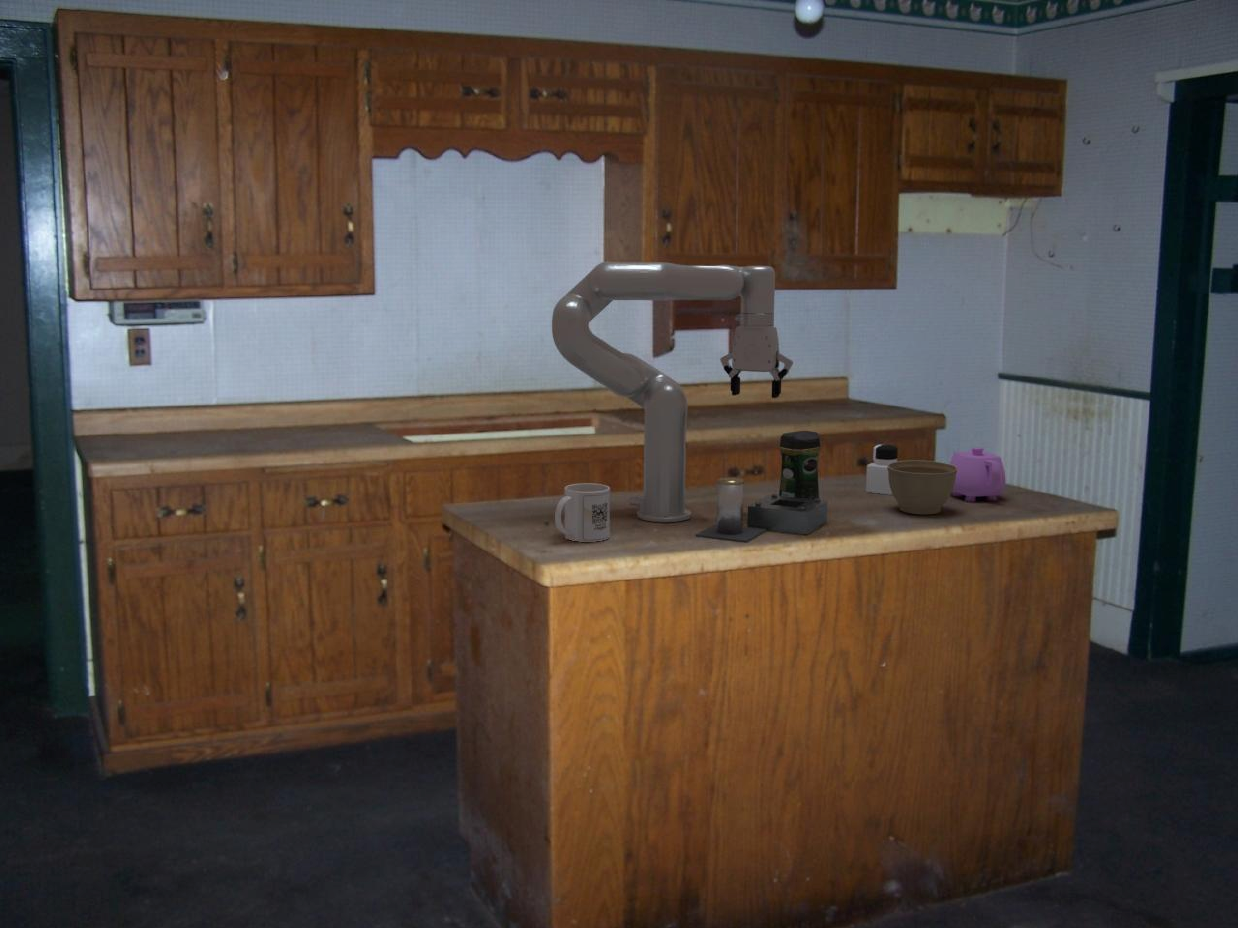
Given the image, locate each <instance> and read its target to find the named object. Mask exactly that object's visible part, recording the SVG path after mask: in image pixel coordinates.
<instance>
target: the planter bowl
mask: <svg viewBox="0 0 1238 928" xmlns="http://www.w3.org/2000/svg"><path fill="white" fill-rule="evenodd" d="M887 469H888V479H889V485H890V489H891V491H892V493H893V495H892V496H893V497H894V499H895V500H896V502H897V503H898V506H899V510H900V511H901V512H903V513H907V514H913V515H921V516H924V515H925V516H926V515H936V514H939V513H940V512H941V511H942V508H943V506H944V504H945V503H946V502H947V501H948V499H949V498H950V496H952V492H953V491H952V490H953V487H954V484H955V479H956V473H957V467H955V466H953V465H950V463H945V462H940V461H932V460H915V459H914V460H899V461H898V460H897V462H893V463H890V464H888V465H887Z"/></svg>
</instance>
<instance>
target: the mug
mask: <svg viewBox="0 0 1238 928" xmlns="http://www.w3.org/2000/svg"><path fill="white" fill-rule="evenodd" d="M563 508H564V526H563V523H562V513H563V512H562V511H563ZM610 516H611V487H610V486H609V485H606V484H601V483H593V482H592V483H589V482H587V483H586V482H585V483H583V482H582V483H574V484H573V483H572V484H569V485H566V486H564V496H563V497H562V498H561V499H560V500H559V502H558V503H557V506H556V508H555V513H554V522H555V526H556V528H557V530H558V531H559V532H560V533H561V534H563V535H564V538H566V540H567V539H569V540H572V541H571V542H573V541H579V542H578V543H581V542H593V543H595V542H594V541H601V542H603V541H602V540H605V541H607V540H606V539H608V538H609V537H611V534H610V533H611V517H610ZM609 539H610V538H609ZM609 539H608V540H609ZM569 540H568V541H569Z"/></svg>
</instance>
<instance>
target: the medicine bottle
mask: <svg viewBox="0 0 1238 928" xmlns="http://www.w3.org/2000/svg"><path fill="white" fill-rule="evenodd" d="M898 449H899V448H898V447H897V446H895V445H893V444H886V443H884V444H876V445H875V446H874V447H873V455H872V457H873V458H872V461H873V462H871V463H869V464H867V465H866V479H865V481H866V482H865V492H866V493H870V492H871V493H873V494H879V493H880V495H887V494H888V495H889V496H894V495H893V493H892V491H891V489H890V485H889V479H888V469H887V465H888V464H890V463H893V462H898Z"/></svg>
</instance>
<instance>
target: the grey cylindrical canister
mask: <svg viewBox="0 0 1238 928" xmlns="http://www.w3.org/2000/svg"><path fill="white" fill-rule="evenodd" d="M744 487H745V480H744V478H740V477H720V478H718V479H717V511H716V512H717V516H716V517H717V518H716V519H717V521H716V524H717V532H718V533H720V534H727V535H736V534H741V533H742V532H743V527H744Z"/></svg>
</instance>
